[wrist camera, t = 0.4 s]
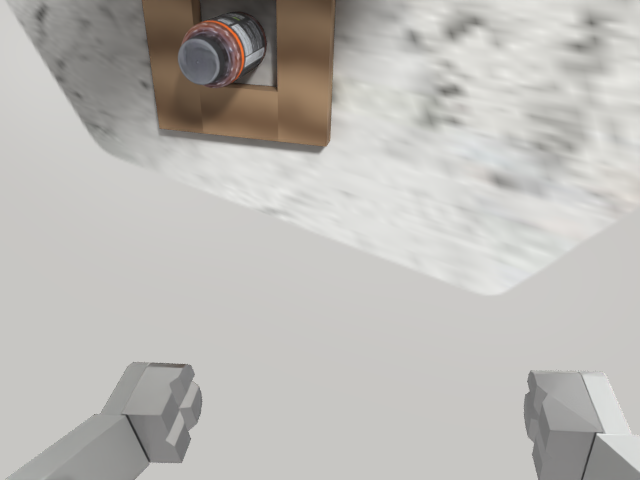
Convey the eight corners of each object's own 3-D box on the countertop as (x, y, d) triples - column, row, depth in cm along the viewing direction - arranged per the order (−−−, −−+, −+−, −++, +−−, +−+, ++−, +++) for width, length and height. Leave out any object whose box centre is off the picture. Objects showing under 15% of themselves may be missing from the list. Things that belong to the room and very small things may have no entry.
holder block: (142, -72, 51) (131, -72, 50) (338, -65, 48) (333, -66, 46) (167, 123, 61) (159, 128, 60) (330, 140, 58) (326, 146, 56)
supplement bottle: (225, 74, 57) (178, 101, 47) (208, 17, 54) (155, 33, 45) (275, 64, 55) (237, 90, 46) (260, 5, 52) (216, 19, 43)
